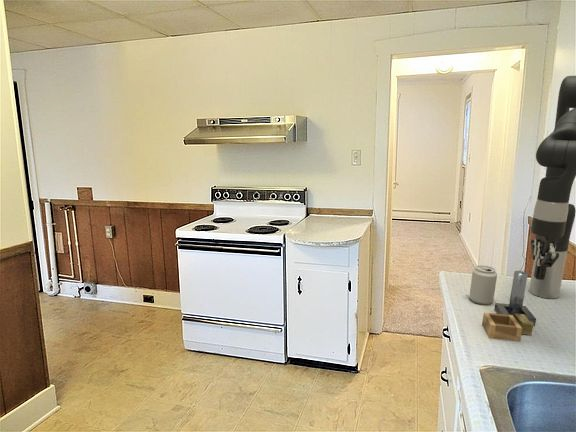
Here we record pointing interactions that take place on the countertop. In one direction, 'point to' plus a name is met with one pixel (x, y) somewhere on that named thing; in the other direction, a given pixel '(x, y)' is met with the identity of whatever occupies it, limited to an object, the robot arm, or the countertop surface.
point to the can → (483, 284)
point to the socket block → (504, 308)
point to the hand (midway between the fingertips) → (538, 278)
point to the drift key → (524, 323)
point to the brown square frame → (501, 326)
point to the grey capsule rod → (517, 292)
